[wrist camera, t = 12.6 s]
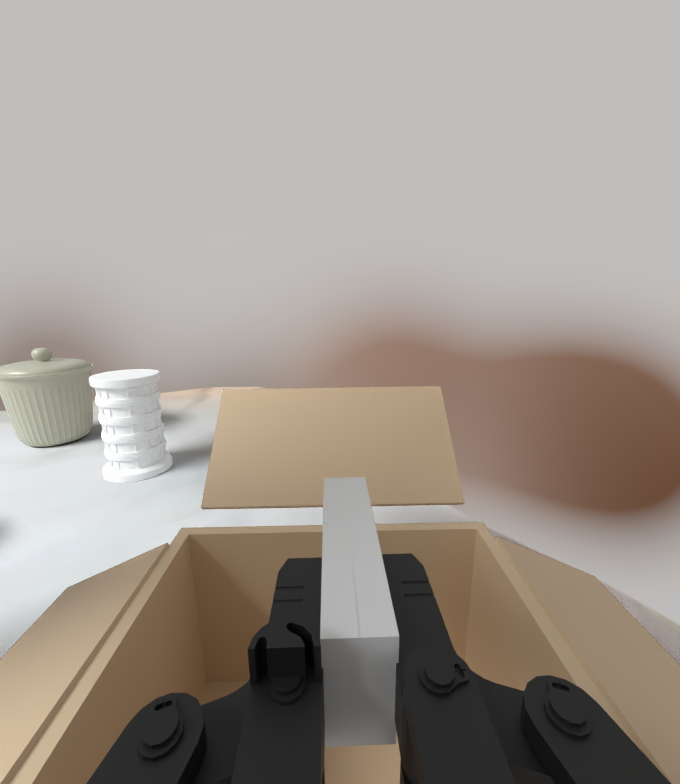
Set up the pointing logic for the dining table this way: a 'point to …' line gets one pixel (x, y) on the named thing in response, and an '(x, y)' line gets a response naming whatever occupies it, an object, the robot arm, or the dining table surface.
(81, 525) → the dining table surface
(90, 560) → the dining table surface
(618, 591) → the dining table surface
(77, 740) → the carton
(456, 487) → the carton flap
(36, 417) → the canister
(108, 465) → the decorative container
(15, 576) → the dining table surface
